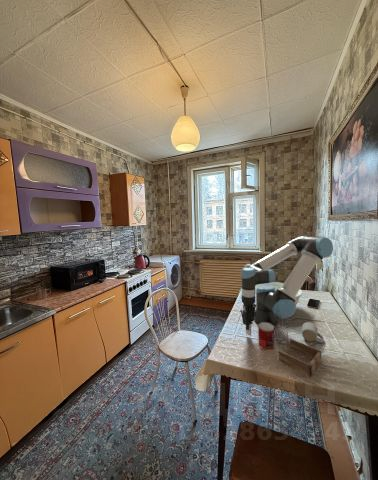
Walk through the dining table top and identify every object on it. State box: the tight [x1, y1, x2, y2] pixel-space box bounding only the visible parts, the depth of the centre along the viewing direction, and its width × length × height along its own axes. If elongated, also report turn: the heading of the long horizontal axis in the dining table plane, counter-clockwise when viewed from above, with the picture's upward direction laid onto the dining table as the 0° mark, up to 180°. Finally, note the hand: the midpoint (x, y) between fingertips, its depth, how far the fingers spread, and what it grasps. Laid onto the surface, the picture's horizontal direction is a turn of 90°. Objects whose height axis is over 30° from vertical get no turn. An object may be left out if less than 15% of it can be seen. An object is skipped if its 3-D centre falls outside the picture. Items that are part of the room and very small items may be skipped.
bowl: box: [255, 281, 303, 306], centre depth 152 cm, size 32×32×15 cm
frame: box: [278, 338, 322, 378], centre depth 97 cm, size 14×14×5 cm
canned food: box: [257, 322, 275, 350], centre depth 109 cm, size 8×8×11 cm
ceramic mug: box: [301, 321, 325, 344], centre depth 113 cm, size 11×8×8 cm
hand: (248, 334), depth 117 cm, fingers closed
